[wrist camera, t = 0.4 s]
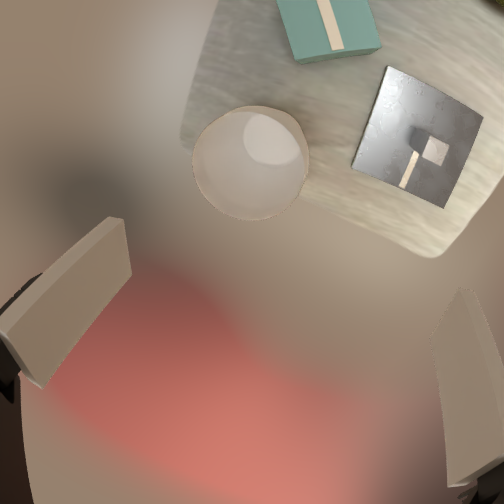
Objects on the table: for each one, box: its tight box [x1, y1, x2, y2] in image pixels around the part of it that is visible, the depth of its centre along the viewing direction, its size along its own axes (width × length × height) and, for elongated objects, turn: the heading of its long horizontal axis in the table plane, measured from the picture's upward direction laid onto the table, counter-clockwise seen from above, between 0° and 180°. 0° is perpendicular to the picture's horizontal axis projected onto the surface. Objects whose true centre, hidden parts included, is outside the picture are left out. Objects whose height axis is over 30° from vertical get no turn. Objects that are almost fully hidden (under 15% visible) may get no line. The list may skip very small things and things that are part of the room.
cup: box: [192, 105, 310, 221], centre depth 28 cm, size 9×9×12 cm
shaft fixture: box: [351, 66, 483, 209], centre depth 26 cm, size 12×12×6 cm
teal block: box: [276, 0, 382, 64], centre depth 21 cm, size 7×7×8 cm
